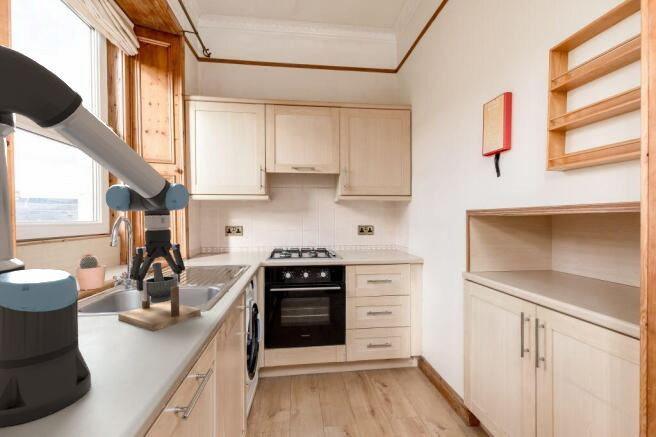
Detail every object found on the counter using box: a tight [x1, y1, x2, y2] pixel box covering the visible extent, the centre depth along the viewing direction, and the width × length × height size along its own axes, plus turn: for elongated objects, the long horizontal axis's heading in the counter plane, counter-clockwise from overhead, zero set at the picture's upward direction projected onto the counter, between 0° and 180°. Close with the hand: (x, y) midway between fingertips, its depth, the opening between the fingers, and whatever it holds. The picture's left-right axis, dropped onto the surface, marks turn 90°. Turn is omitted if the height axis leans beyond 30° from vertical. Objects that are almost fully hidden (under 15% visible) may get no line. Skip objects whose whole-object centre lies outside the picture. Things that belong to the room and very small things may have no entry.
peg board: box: [117, 285, 202, 332], centre depth 101 cm, size 16×20×11 cm
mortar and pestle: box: [145, 261, 177, 304], centre depth 101 cm, size 11×9×12 cm
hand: (159, 296), depth 101 cm, fingers closed on mortar and pestle, 10 cm apart
